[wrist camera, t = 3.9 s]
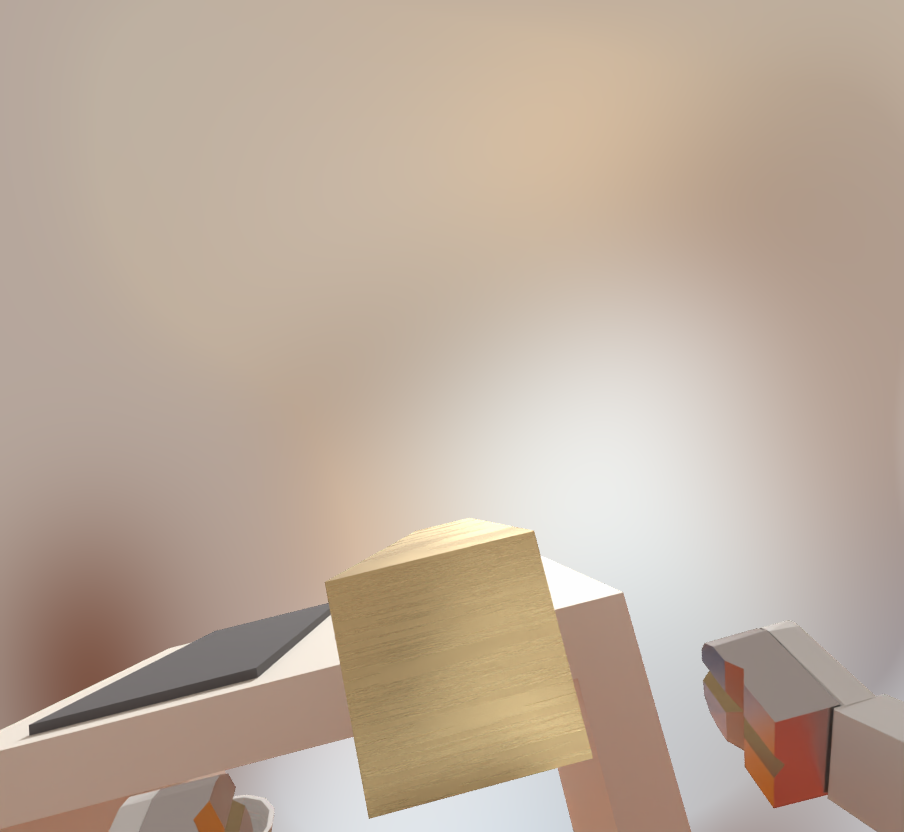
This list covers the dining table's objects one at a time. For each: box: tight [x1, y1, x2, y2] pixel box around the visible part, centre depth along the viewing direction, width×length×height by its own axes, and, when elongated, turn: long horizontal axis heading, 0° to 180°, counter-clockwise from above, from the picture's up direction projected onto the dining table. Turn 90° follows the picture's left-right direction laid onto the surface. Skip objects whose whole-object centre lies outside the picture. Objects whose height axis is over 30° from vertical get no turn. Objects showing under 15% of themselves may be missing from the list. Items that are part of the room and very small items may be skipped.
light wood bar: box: [325, 518, 593, 819], centre depth 18 cm, size 3×22×3 cm, turn 0°
